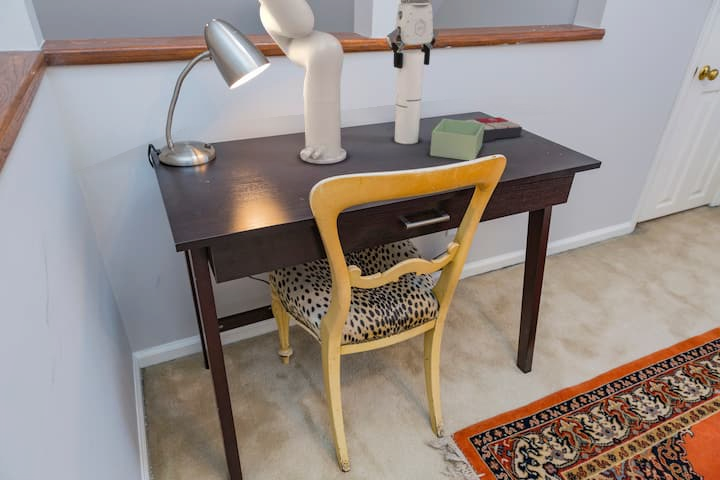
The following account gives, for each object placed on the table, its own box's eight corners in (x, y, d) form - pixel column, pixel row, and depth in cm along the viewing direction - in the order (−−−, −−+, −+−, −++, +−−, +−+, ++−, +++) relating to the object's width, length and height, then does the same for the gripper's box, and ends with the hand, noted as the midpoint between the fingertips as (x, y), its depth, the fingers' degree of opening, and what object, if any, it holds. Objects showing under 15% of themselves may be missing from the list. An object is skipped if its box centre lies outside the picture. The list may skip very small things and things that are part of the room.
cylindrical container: (419, 144, 144) (425, 55, 132) (394, 143, 144) (399, 54, 132) (417, 136, 150) (423, 51, 138) (393, 136, 150) (398, 50, 138)
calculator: (523, 124, 150) (484, 127, 144) (520, 138, 152) (482, 142, 146) (499, 116, 159) (462, 118, 152) (497, 129, 161) (460, 132, 154)
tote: (473, 161, 132) (477, 136, 128) (429, 155, 135) (432, 131, 132) (481, 145, 143) (484, 123, 140) (441, 140, 147) (443, 118, 144)
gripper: (398, 0, 121) (395, 71, 130) (449, -3, 130) (443, 65, 138) (380, -2, 127) (378, 67, 135) (430, -4, 135) (426, 61, 144)
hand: (411, 66), depth 137 cm, fingers open, 9 cm apart
